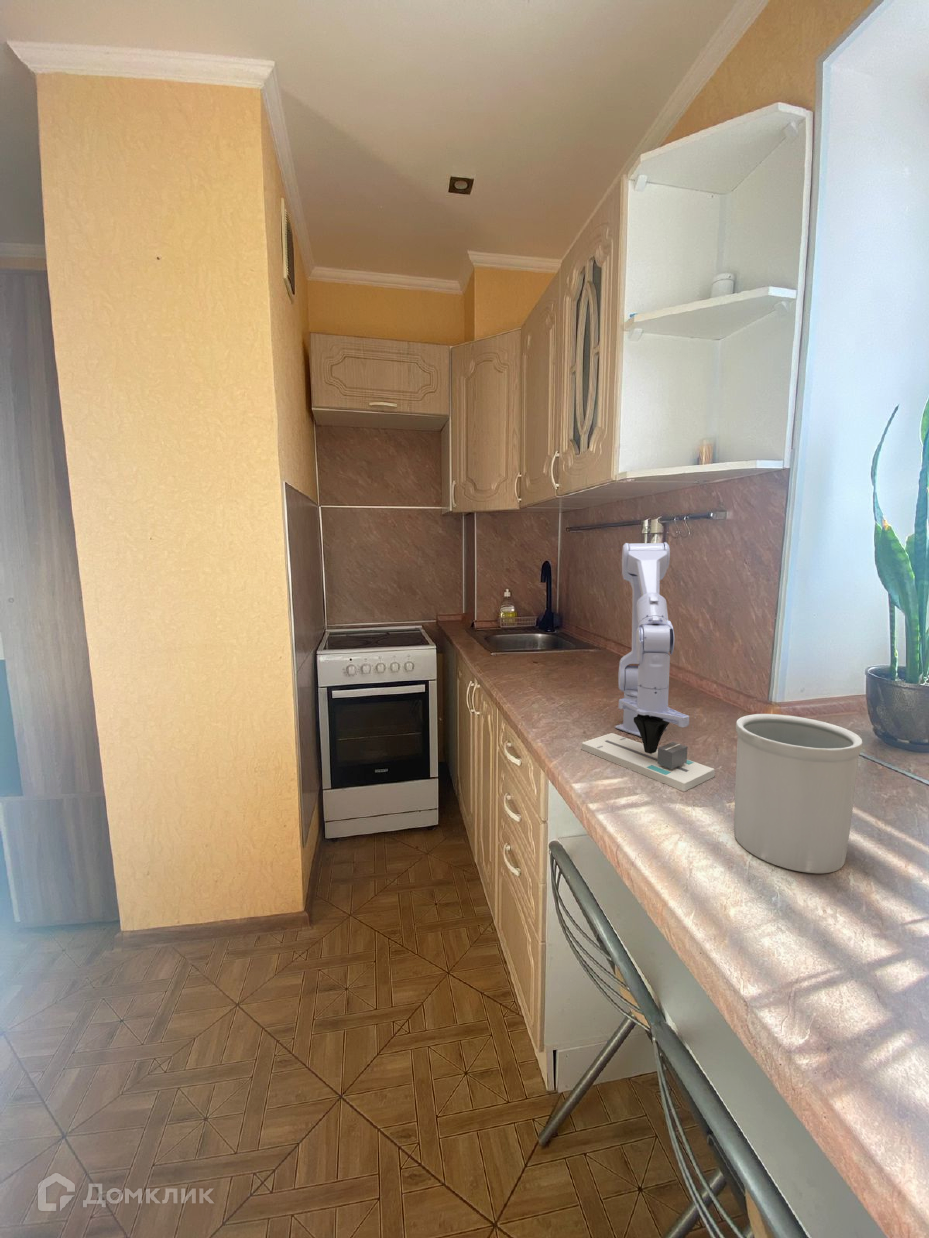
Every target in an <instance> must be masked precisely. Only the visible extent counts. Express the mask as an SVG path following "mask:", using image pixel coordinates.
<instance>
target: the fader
mask: <svg viewBox="0 0 929 1238" xmlns="http://www.w3.org/2000/svg"><path fill="white" fill-rule="evenodd" d="M657 749H658V761H657V764H659V765H662V766H664V767H667V768H670V769H673V768H675V767H678V766H680V765H682V764H685V763H687V759H688V749H689V747H688V746H687V745H685V744H682V743H678V742H675V741H672V742H670V743H667V744H664V745H662V746H659V747H657Z"/></svg>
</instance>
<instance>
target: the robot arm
mask: <svg viewBox="0 0 929 1238" xmlns="http://www.w3.org/2000/svg"><path fill="white" fill-rule="evenodd" d="M621 550H622V551H621V553H622V554H621V576H622V579H623V580H624V581H627V582H629V583H630V587H631V589H632V591H631V592H632V594H631V595H632V597H631V598H632V601H631V602H632V603H631V607H632V608H631V609H632V611H631V614H632V615H631V651H629V652H628V653H627V654H626V653H625V655H623V656H622V657H621V658H620V660H619V664H618V665H619V667H618V689H619V690H620V692H623V698H620V699H619V700H618V709H619V710H623V719H622V721H623V723H620V724H618V725H617V724H616V725H615V726H614V728H615V729H617V730H620V731H623V732H626V733H629V734H632V735H634V736H638V737H641V740H642V741H641V742H642V744H643V746H644V750H645V752H646V753H649V754H652V753H655V752H656V751H657V749H658V748H659V747H658V746H659V744H660V741H661V738H662V736H663V734H664V732H665V730H667V728H668V725H669V724H670V723H671V724H674V725H677V726H678V727H680V728H682V729H683V728H687V727H689V726H690V715H687V714H685V713H682V712H680V711H678V710H675V709H673V708H671V707H669V693H670V692H669V691H670V690H669V689H670V687H669V686H670V668H671V667H670V666H671V664H670V663H671V655H673V654H674V648H675V641H676V639H675V631H674V626H673V624H672V622H671V620H669V613H668V604H667V600H666V598H665V597H664V596H662V595H661V594H660V590H661V589H660V584H661V583H660V582H661V581H662V580H663V579H664V577H665V576H666V573H667V571H668V569H669V567H670V559H671V557H670V556H671V548H670V545H669V544H668V542H666V541H664V542H649V543H648V542H647V543H646V542H645V543H642V542H639V543H638V542H637V543H632V542H631V543H628V542H625V543H624V544H623V545H622V549H621Z"/></svg>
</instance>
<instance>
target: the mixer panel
mask: <svg viewBox="0 0 929 1238" xmlns="http://www.w3.org/2000/svg"><path fill="white" fill-rule="evenodd" d="M580 746H581V747H580V749H581V750H582V751H584V752H587V753H588V754H589V753H590V754H592V755H594V756H595V757H596V756H597V757H599V758H602V759H604V760H606V761H609V762H611V763H614V764H616V765H619V766H621V767H623V768H625V769H628V770H630V771H633V772H635V773H638V774H640V775H643V776H645V777H648V778H650V779H652V780H654V781H657V782H660V783H662V784H665V785H667V786H669V787H672V788H674V789H677V790H679V791H682V792H686V791H689V790H690V789H692V788H694V787H696V786H698V785H700V784H703V783H704V782H707V781H708V780H711V779H713V778H715V776H716V775H715V773H716V772H715V771H716V769H715V768H713V767H710V766H708V765H704V764H701V763H699V762H696V761H693V760H690V759H688V758H687V763H685V764H682V765H680V766H678V767H675V768H673V769H670V768H667V767H664V766H662V765H659V764H657V761H658V748H657V751H656V752H655V753H652V754H649V753H646V752H645V750H644V746H643V742H642V743H641V742H639V741H637V740H633V739H630V738H628V737H625V736H622V735H619V734H616V733H614V732H610V733H607V734H604V735H600V736H597V737H595V738H592V739H589V740H586V741H581V745H580Z"/></svg>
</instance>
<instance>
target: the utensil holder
mask: <svg viewBox="0 0 929 1238" xmlns="http://www.w3.org/2000/svg"><path fill="white" fill-rule="evenodd" d="M735 732H736V735H737V740H736V741H737V744H736V763H735V764H736V765H735V766H736V767H735V787H734V807H733V808H734V811H733V812H734V814H733V815H734V817H733V831H734V837H735V839H736V840H737V843H738V844H739V845H740V846H741V847H743V848H744V850H746V851H747V852H749V853H750V854H752V855H753V856H755V857H756V858H759V859H761V860H763V861H764V862H767V863H768V864H772V865H775V866H778V867H780V868H783V869H787V870H789V871H796V872H800V873H801V872H802V873H806V874H807V873H808V874H829V873H832V872H835V871H838V870H841V869H842V868H843V866H844V865H845V864H846V858H847V852H848V844H849V839H850V834H851V833H850V831H851V827H852V825H851V824H852V818H853V808H854V799H855V791H856V782H857V774H858V765H859V764H858V763H859V756H860V754H861V752H862V750H863V739H862V737H861V736H860V735H858V734H857V733H855V732H854V731H851V730H849V729H847V728H845V727H842V726H840V725H839V726H838V725H836V724H832V723H830V722H829V723H828V722H825V721H821V720H817V719H814V718H813V719H812V718H807V717H801V716H797V715H795V716H794V715H787V714H777V713H776V714H774V713H755V714H749V715H745V716H744V715H743V716H741V717H740V718H738V719H737V720H736V722H735Z"/></svg>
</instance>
